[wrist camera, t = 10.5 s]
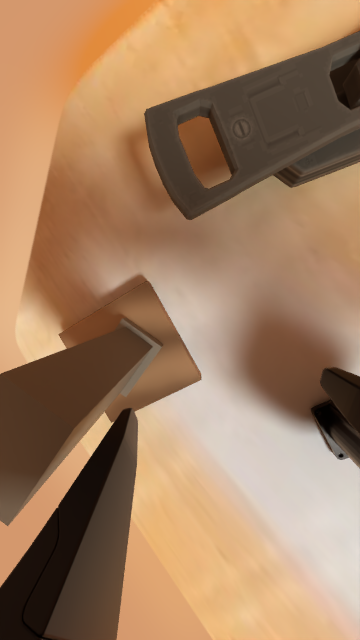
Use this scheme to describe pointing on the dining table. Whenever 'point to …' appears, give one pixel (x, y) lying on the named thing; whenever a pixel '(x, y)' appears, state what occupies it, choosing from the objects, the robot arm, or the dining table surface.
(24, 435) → the picture frame
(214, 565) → the dining table surface
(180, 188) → the zipper pull
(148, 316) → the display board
